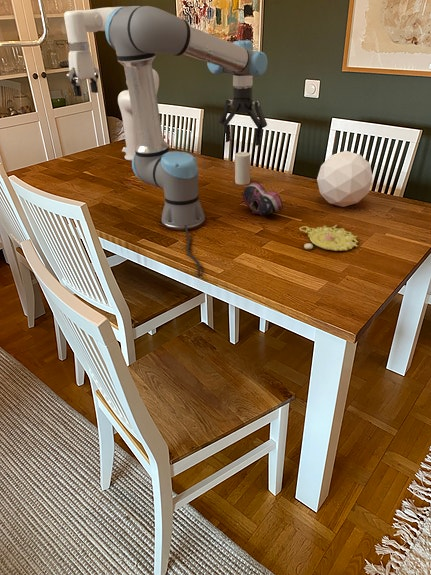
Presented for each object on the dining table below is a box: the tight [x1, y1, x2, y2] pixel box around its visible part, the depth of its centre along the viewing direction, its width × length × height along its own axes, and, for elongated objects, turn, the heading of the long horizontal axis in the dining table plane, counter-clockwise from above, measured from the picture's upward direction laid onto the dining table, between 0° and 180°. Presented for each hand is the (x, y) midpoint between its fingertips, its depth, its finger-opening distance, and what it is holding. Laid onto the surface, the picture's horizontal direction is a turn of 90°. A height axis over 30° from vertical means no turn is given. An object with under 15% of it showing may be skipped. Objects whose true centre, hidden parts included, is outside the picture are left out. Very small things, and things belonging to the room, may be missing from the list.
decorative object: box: [299, 224, 359, 252], centre depth 141 cm, size 21×2×20 cm
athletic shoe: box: [238, 182, 284, 217], centre depth 160 cm, size 11×22×12 cm
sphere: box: [316, 150, 374, 208], centre depth 161 cm, size 19×20×20 cm
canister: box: [234, 151, 251, 186], centre depth 186 cm, size 6×6×12 cm
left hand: (86, 94), depth 184 cm, fingers open, 9 cm apart
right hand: (242, 143), depth 181 cm, fingers open, 13 cm apart
